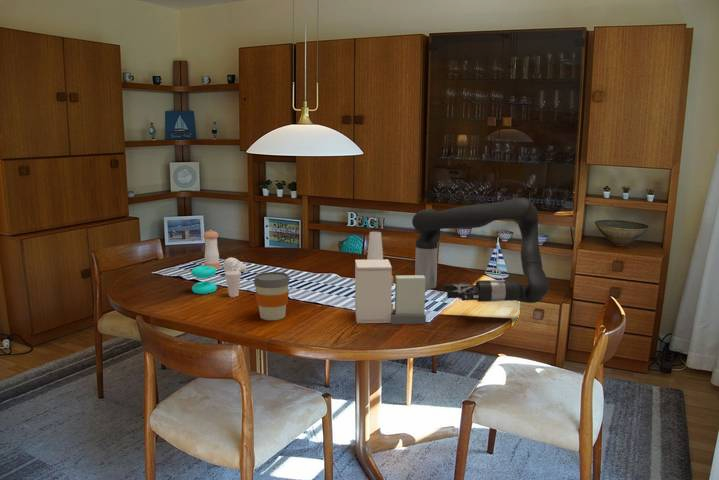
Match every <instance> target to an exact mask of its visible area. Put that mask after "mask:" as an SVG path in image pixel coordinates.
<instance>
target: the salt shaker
mask: <svg viewBox="0 0 719 480" xmlns="http://www.w3.org/2000/svg"><path fill="white" fill-rule="evenodd" d="M202 237H203V239H204V241H205V242H204V243H205V248H204V263H203V264H204V265H203V266H211V267H214V268H215V269H219V268H220V269H221V262H220V252H219V249H218V238H219V233H218V232H217V231H215V230H213V229H209V230H207V231H204V232H203V235H202ZM220 269H219V270H220Z"/></svg>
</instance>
